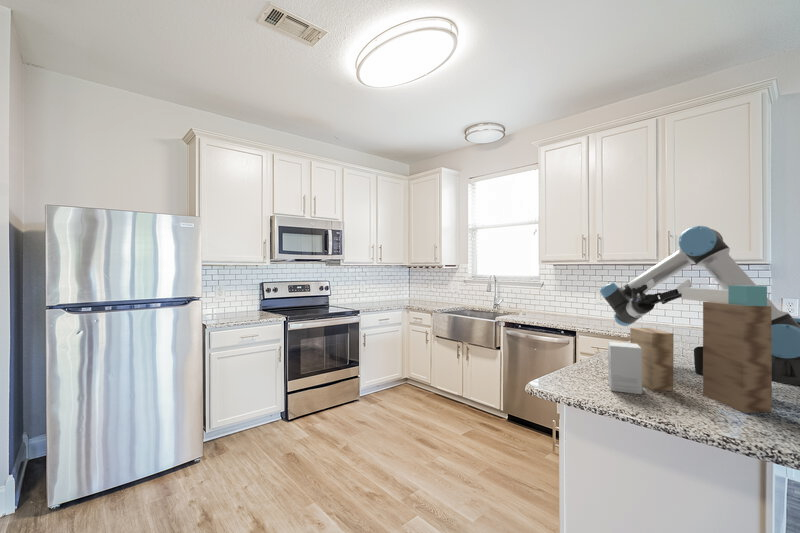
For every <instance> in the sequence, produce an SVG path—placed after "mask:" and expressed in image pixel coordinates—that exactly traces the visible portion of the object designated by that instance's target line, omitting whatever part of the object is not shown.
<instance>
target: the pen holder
mask: <svg viewBox="0 0 800 533" xmlns="http://www.w3.org/2000/svg"><path fill="white" fill-rule="evenodd" d="M693 359H694V360H693V362H694V363H693V364H694V372H695V373H696V374H697V375H699V376H703V345H702V346H701V345H700V346H696V347H695V348H693Z"/></svg>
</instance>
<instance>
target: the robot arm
mask: <svg viewBox="0 0 800 533" xmlns="http://www.w3.org/2000/svg"><path fill="white" fill-rule="evenodd" d="M678 246H679V248H678V250H677V251H676V252H674V253H672V254H671V255H669V256H668V257H666V258H664V259H663V260H662V261H660V262H659V263H658V262H657V264H655V265H654V266H652V267H651V268H649V269H648V270H646V271H644V272H643V273H642V274H640V275H638V276H637V277H635V278H634V279H632V280H631V281H629V282H627V283H626V284H625V285H623V286H622V287H619V286H618V285H617V284H616V283H615V282H609V283H608V284H606V285H604V286H603V287H601V288H600V290H599V293H600V295H601V296H602V297H603V299H604V300H605V301H606V302H607V304H608V305H609V306H610V307H611V309H612V310H613V312H614V320H615V321H614V322H616V323H617V324H618V325H620V326H622V327H628V326H630V325H632V324H634V323H635V322H637V321H638V320H640V319H641V318H642V317H644V316H645V315H647V314H648V313H649V312H651V311H652V310H653V309H654V308H655V305H656V304H658V303H661V304H662V305H665V304H667V303H669V302H671V301H674V300H677V299H680V298H682V288H692V287H693V284H692V282H691V280H690V279H686V280H685V281H683V282H682V283H681V284H679V285H678V286H676V288H675V289H672V290H668V291H664V292H657V293H648V292H649V291H650V290H651V289H653V288H655V287H656V286H658V285H659V284H661V283H663V282H665V281H666V280H668V279H670V278H671V277H674V276H675V275H676V274H678V273H679V272H681V271H683V270H685V269H686V268H687V267H689V266H691V265H692V264H694V265H696V266H698V267H703V268H705V269H706V271H707V272H708V273H709V275H711V277H712V278H713V279H714V280H715V281H716V283H717V284H718V286H720V288H721V289H722V290H728V285H744V286H758V285H757V284H756V283H755V281H754V280H752V278H750V277H749V275H748V274H747V273H746V272H745V271H744V270H743V269H742V268H741V267H740V265H739V264H738V263H737V262H736V261H735V260H734V259H733V257H731V255H730V252H731V251H730V250H731V248H730V247H729V245H727V243H726V242H725V241H724V238H723V236H722V234H721V233H720V232H718V231H717V230H715V229H712V228H710V227H708V226H704V225H696V226H692V227H689V228H687V229H685V230H684V231H682V232H681V234H680V236H679V237H678ZM646 293H648V294H646ZM767 306H771V334H772V381H773V382H777V383H782V384H787V385H792V386H794V385H795V386H800V318H799V317H792V315H791V314H790V313H789V312H787V311H784V310H783V311H782V310H779V309H778V308H777V307H776V306H775V304H774V303H773V302H772V301H771V299H769V298H768V297H767Z"/></svg>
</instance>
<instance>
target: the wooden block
mask: <svg viewBox="0 0 800 533" xmlns="http://www.w3.org/2000/svg"><path fill="white" fill-rule="evenodd" d="M629 335H630V337H629V338H630V342H629V343H633V344H638V345H639V346H640V347H641V348H642V387H644V388H646V389H648V390H651V391H664V392H665V391H668V392H669V391H670V392H672V391H674V333H673V332H669V331H666V330H665V331H664V330H660V329H655V328H652V327H630V334H629Z"/></svg>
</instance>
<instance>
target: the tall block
mask: <svg viewBox="0 0 800 533" xmlns="http://www.w3.org/2000/svg"><path fill="white" fill-rule="evenodd" d="M702 347H703V375H702V396H703V397H707V398H709V399H711V400H713V401H716V402H719V403H721V404H723V405H725V406H728V407H730V408H732V409H735V410H737V411H739V412H742V413H772V412H773V411H772V409H773V403H772V401H773V400H772V399H773V398H772V396H773V395H772V394H773V392H772V391H773V390H772V383H773V382H772V334H771V306H743V305H734V304H726V303H716V302H706V301H702Z"/></svg>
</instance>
